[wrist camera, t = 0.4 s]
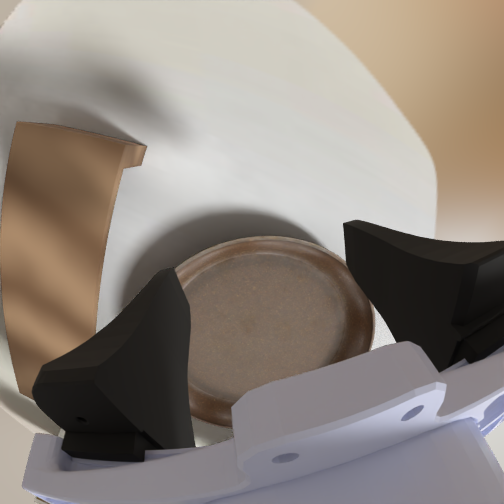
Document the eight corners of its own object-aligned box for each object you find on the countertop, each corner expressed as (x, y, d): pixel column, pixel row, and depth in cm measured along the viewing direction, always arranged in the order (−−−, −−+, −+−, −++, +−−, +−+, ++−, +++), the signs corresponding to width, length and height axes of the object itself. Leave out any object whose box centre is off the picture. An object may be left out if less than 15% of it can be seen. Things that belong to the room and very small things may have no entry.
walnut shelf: (104, 391, 27) (92, 425, 22) (37, 364, 25) (19, 392, 20) (147, 146, 19) (125, 144, 15) (53, 124, 18) (16, 121, 13)
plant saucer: (155, 204, 21) (144, 213, 18) (390, 250, 25) (409, 263, 22) (144, 394, 27) (139, 416, 24) (320, 408, 31) (328, 428, 28)
